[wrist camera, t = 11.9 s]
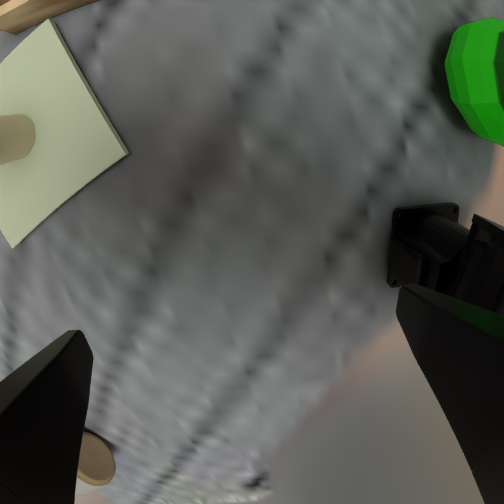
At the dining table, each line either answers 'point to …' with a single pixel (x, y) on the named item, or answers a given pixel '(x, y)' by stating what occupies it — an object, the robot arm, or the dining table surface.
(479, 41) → the plastic bottle
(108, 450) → the ceramic mug
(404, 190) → the dining table surface
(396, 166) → the dining table surface
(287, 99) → the dining table surface
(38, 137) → the beige peg on base
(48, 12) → the oak box
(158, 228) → the dining table surface
